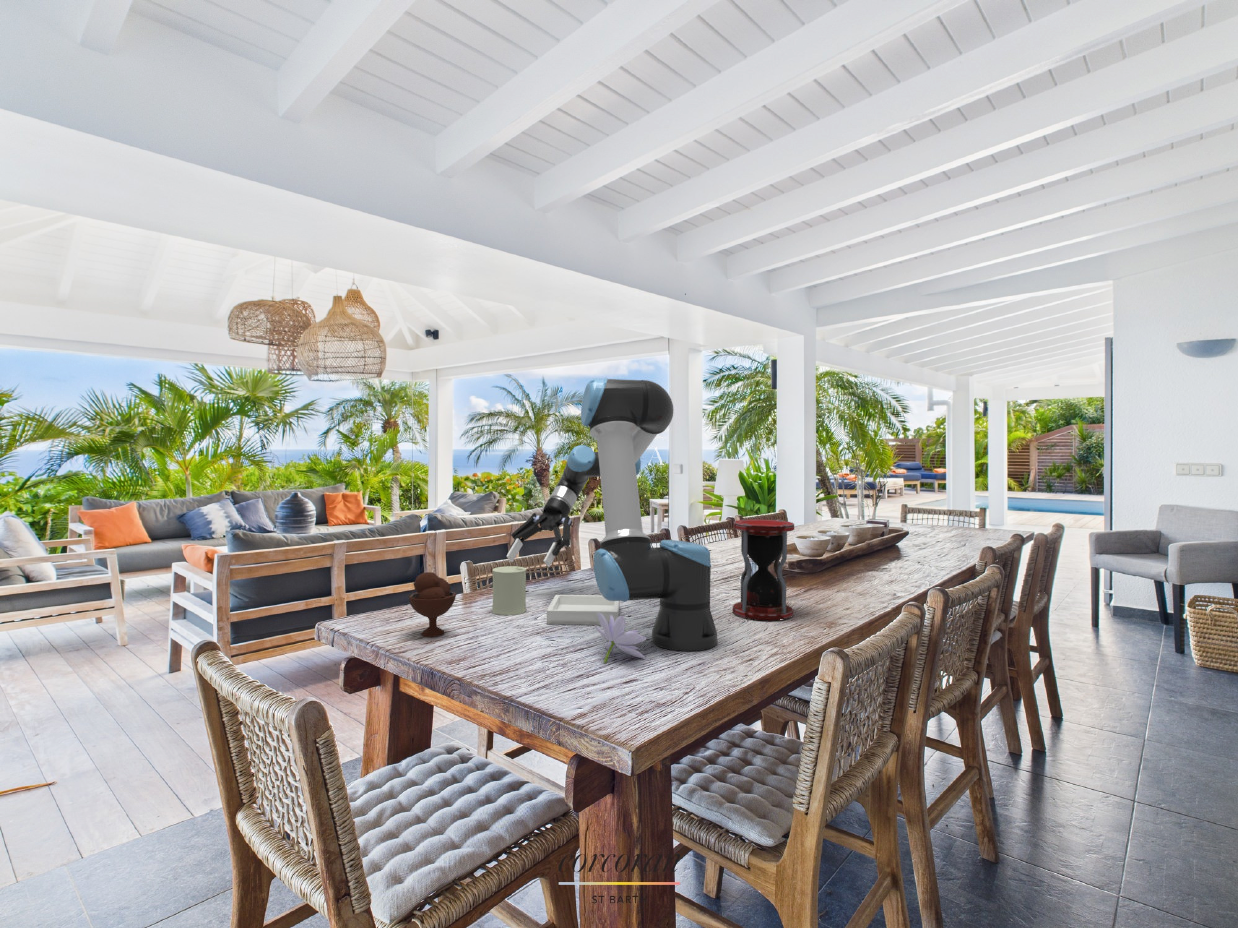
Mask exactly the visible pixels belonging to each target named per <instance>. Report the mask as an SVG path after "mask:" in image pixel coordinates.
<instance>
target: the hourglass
mask: <svg viewBox="0 0 1238 928" xmlns="http://www.w3.org/2000/svg"><path fill="white" fill-rule="evenodd" d="M733 528H734V530H738V531H741V536H740V537H741V538H740V539H741V540H740V543H741V545H740V548H741V549H740V552H741V555H742V558H743V562H744V570H743V571H742V572H741V576H740V601H739V602H736V603H734V604H733V605H732V613H733V615H735V616H737V617H739V618H742V619H746V618H748V619H747V620H750V619H756V620H755V621H758V620H766V621H765V622H772V621H771V620H780V619H786V620H788V619H787V618H789V619H791V618H792V617H793V616H794V609H793V608H792V607H791V606H790V605H788V604H787V583H786V581H785V579H784V577H783V567H784V565H785V564H786V562H787V558H788V533H789V532H793V531H794V530H795V523H794V522H791V521H785V520H781V519H780V520H778V519H759V518H758V519H754V518H753V519H737V520H735V521H733ZM750 559H751V560H752V561H753V563H754V564H755V565H756V566H757V568H758V569H757V570H756V571H755V572H754V573H753V568H752V564H751V562H750V561H751V560H750ZM772 564H773V571H774V573H775V575H776V577H777V578H776V577H775V575H774V574H772V572H771V571H770V570H769V567H770V566H771V565H772ZM752 573H753V574H752ZM791 616H792V617H791ZM767 620H768V621H767ZM780 621H781V620H780Z"/></svg>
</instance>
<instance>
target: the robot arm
mask: <svg viewBox="0 0 1238 928" xmlns="http://www.w3.org/2000/svg"><path fill="white" fill-rule="evenodd" d="M581 400H582V402H581V407H580V408H581V409H580V421H581V425H582V426H584V427H586V428H588V427H589V434H590V436H591V437H592V438H593V439H594V440H596V442H597V443H596V445H597V451H594V450H593V448H591V447H589V446H587V445H584V444H583V445H582V444H581V445H577V446H575V447H574V448H572V450H571V452H570V453H569V454H568V457H567V462H566V464H565V467H564V470H563V473H562V475H561V477H560V479H559V482H558V483H557V485H556V486H555V488H554V489H553V491H552V493H551V494H550V496H549V498H548V499H547V501H546V503H545V504H544V506H543V512H542V513H541V514H540V515H538V514H537V513H536V512H533V513H532V515H530V517H529V518H528V519H527V520H526V521H525V522H524V523H523V524H521V525H520V526H519V527H518V528H517V529H515V531H514V532H512V533H511V535H510V536H511V537H512V538H513V542H512V543H511V545H510V547H509V548H510V549H509V551H508V552H507V555H506V558H507V559H508V560H509V561H510V562H511V563H513V562H514V561H515V559H516V557H517V555H518V553H519V552H520V550H521V548H522V547H523V545H524V544H523V543H524V542H526V540H528V539H529V538H531V537H532V536H534V535H536V534H537V533H539V532H540V533H541V532H543V531H546V532H547V531H548V532H552V531H553V533H554V537H555V542H552V545H551V546H550V548H549V550H548V552H547V553H546V555H545V557H544V559H543V562H544V564H545V565H546V566H547V567H548V568H551V565H552V563H553V561H554V560H555V558H556V557H558V556H559V554H560V552H561V550H562V549H563V548H564V547H567V548H568V547H571V527H572V524H573V520H572V519H571V517H570V516H569V514H570V512H571V511H572V509H573V507H574V505H575V503H576V502H577V500H578V497H580V494H581V493H582V491H583V490H584V488H585V485H586V484H587V482H588V481H589V478H592V477H593V478H594V477H597V478H599V477H600V486H601V498H602V499H601V500H602V510H603V520H604V528H605V529H604V530H605V536H604V537H603V538H602V539H601V541H600V543H599V549H597V550H595V552H594V554H593V572H594V578H595V581H596V586H597V588H598V591H599V593H600V594H601V595H602V596H603V597H604V598H605V599H607V600H609V601H620V602H624V603H625V602H626V603H627V602H628V601H642V600H658V599H659V609H658V612H657V615H656V618H655V621H654V625H653V627H652V630H651V641H652V643H653V644H654V645H656V646H658V647H660V648H663V649H666V650H673V651H674V650H675V651H684V652H685V651H687V652H692V651H694V652H695V651H702V650H703V651H704V650H708V649H711V648H714V647H715V646H717V644H718V631H717V628H716V625H715V621H714V618H713V614H712V611H711V574H712V573H711V570H712V569H711V568H712V563H711V562H712V561H711V552H710V549H709V548H708V547H707V546H705V545H703V544H699V543H695V542H688V541H683V540H682V541H681V540H675V539H663V540H661V541H660V543H659V546H658V547H655V546H654V547H653V546H652V542H651V537H649V536H648V535H647V534H646V533H645V532H644V531H643V522H642V521H643V520H642V513H641V504H640V495H639V487H638V477H637V476H638V475H639V473H640V471H641V466H642V463H641V457H642V456H643V454H644V453H645V452H646V450H647V449H648V447H649V446H650V445H651V444H652V442H653V441H654V439H655V438H656V437H657V435H660V434H662V433H663V432H665V431H666V430H667V428H668V427H669V426H670V424H671V422H672V420H673V417H674V403H673V401H672V400H673V399H672V398H671V396H670V395H669V393H668V392H667V390H666V389H665V388H663V386H661V385H660V384H658V383H656V382H654V381H652V380H648V379H647V380H645V379H618V378H617V379H616V378H615V379H614V378H607V377H605V378H592V379H590V380H589V381H588V382H587V384H586V386H585V387H584V391H583V395H582V399H581ZM560 526H562V534H561V529H560Z"/></svg>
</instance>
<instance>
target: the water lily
mask: <svg viewBox="0 0 1238 928" xmlns="http://www.w3.org/2000/svg"><path fill="white" fill-rule="evenodd" d="M597 614H598V618H599V622H600V624H601V625H600V626H601V628H600V627H599V625H593V626H594V628H595V629H596V630H597V632H598V633H599V634H600V636H602V637H603V638H604V639H606V640H607V641H608V642H606V643H605V644H604V647H605V649H606V650H607V651H606V655H605V657H604V660H603V664H607V662H608V660H609V657H610V654H611V652H612V651H614V650H615V649H616V648H619V649H620V650H621V651H623V652H624V653H626V654H628V655H630V656H632V657H636V658H638V659H643V660H646V657H645V655H644V654H642V653H641V652H640V651H638V650H639V649H640V647H637V646H635V645H636V644H639V643H640V644H641V643H642V642H644V641H646V639H647V637H646V636H644V635H641V634H639V630H637V629H636V630H635V629H633V630H629V631H627V632H625V633H624V631H625V627H626V620H625V619H626V618H625V617H624V616H623V615H619V617H618V618H617V619H616V621H614V618H613V617H612V615H610V620H609V624H608V623H607V621H606V619H605V618H604V616H603V615H602V614H601V613H598V612H597Z"/></svg>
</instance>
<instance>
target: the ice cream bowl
mask: <svg viewBox="0 0 1238 928" xmlns="http://www.w3.org/2000/svg"><path fill="white" fill-rule="evenodd" d="M413 587H414V588H413V589H414V590H415V591H416V592H412V593H411V594H410V595H409V596H408V600H409V604H410V606H411V608H412V609H413V610H414V611H415V612H416V613H418V615H421V616H423V617H425V618H427V619H428V625H429V626H428V627H426V628H425V629H424V630H422V631H421V633H420V636H421V637H424V638H437V637H441V636H444V634H445V633H446V631H445V630H444V629H442V628H440V627H438V626H437V625H438V624H437V623H438V622H437V620H438V617H441V616H443V615H445V614H446V613H447V612H448V611H449V610H450V609H451V608H452V606H453V605H454V602H455V601H456V597H457V592H455V591H452V590H451V583H449V582H448V581H447V580H445V578H443V577H440V576H438V575H437V574H436V573H435V572H430V571H426V572H422V573H421V574H419V575H417V577H416V578H415V580H414V581H413Z"/></svg>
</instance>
